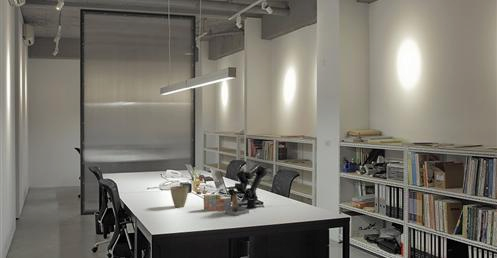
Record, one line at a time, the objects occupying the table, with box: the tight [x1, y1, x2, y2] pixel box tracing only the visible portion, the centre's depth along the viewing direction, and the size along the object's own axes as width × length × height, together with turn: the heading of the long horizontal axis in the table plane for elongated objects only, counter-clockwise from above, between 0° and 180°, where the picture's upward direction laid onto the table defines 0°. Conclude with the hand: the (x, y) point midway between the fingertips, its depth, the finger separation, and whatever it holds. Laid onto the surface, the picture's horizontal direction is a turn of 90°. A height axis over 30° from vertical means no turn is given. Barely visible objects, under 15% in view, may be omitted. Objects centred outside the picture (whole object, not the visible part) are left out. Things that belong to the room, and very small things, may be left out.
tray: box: [224, 207, 250, 217], centre depth 367 cm, size 14×12×2 cm
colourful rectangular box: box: [203, 193, 232, 212], centre depth 382 cm, size 21×6×12 cm, turn 103°
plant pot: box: [170, 185, 189, 208], centre depth 395 cm, size 15×15×16 cm
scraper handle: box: [231, 194, 239, 212], centre depth 364 cm, size 6×6×14 cm
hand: (236, 201), depth 366 cm, fingers open, 9 cm apart
